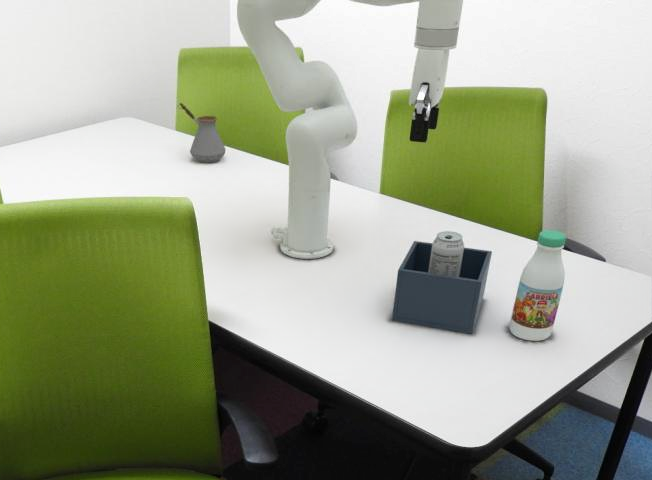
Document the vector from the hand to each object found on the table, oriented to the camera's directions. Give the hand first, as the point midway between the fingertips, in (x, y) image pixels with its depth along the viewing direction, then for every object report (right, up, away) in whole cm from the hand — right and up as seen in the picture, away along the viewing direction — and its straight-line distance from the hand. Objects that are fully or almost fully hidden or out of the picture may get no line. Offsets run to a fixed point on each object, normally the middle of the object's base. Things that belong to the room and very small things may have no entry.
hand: (423, 134), depth 147 cm
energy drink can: (+5, -32, +8) cm, 34 cm away
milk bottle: (+21, -39, 0) cm, 44 cm away
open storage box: (+5, -33, +8) cm, 34 cm away
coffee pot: (-46, +29, +102) cm, 115 cm away
